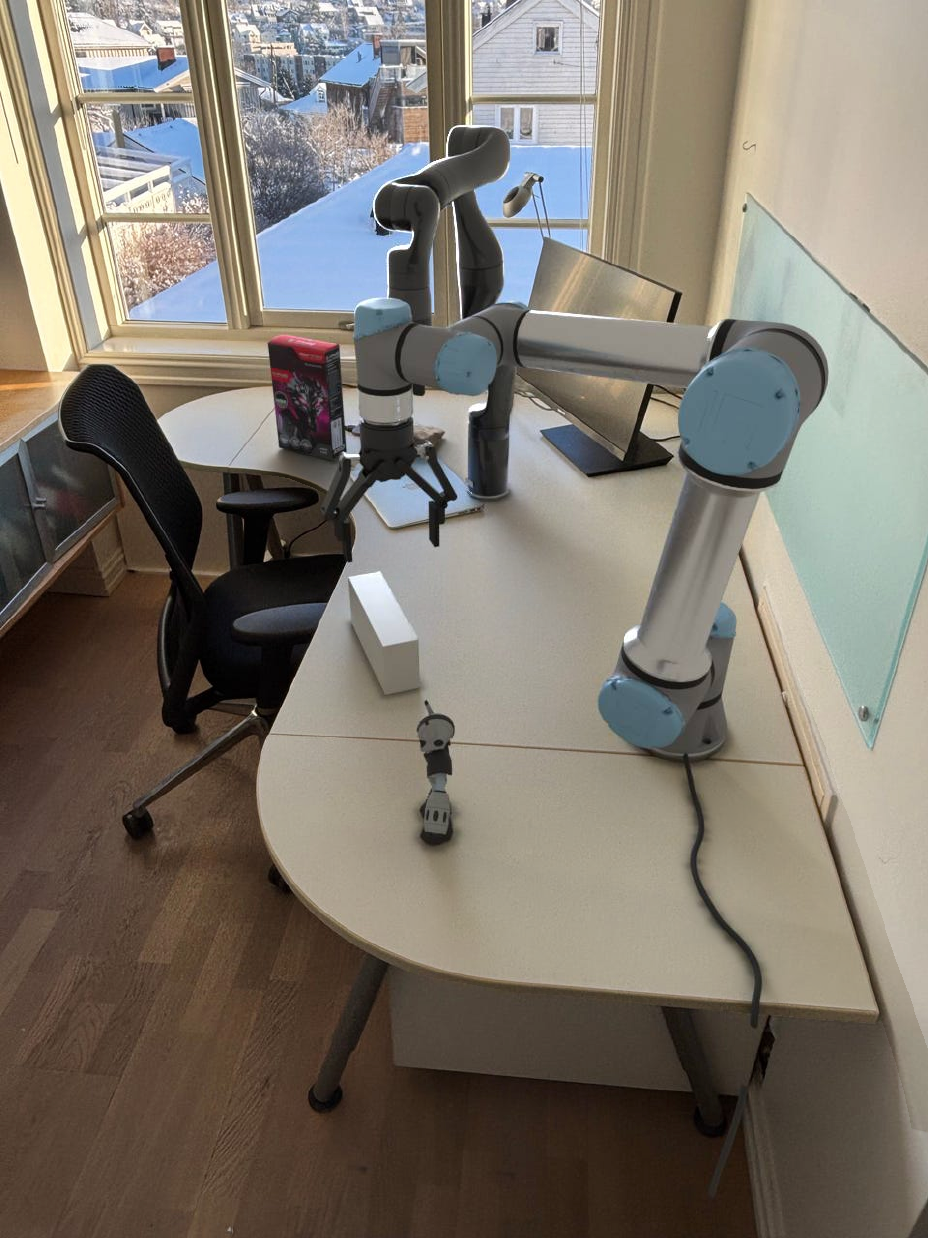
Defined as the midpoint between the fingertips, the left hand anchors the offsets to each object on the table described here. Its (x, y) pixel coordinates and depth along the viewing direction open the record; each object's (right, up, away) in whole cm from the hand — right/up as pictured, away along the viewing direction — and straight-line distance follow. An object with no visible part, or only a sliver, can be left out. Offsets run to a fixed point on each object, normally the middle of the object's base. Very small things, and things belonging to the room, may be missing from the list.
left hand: (411, 403), depth 167 cm
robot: (+6, -67, -40) cm, 78 cm away
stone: (-7, +6, +70) cm, 70 cm away
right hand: (-1, -29, -27) cm, 40 cm away
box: (-4, -45, -7) cm, 46 cm away
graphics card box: (-28, +3, +64) cm, 70 cm away
